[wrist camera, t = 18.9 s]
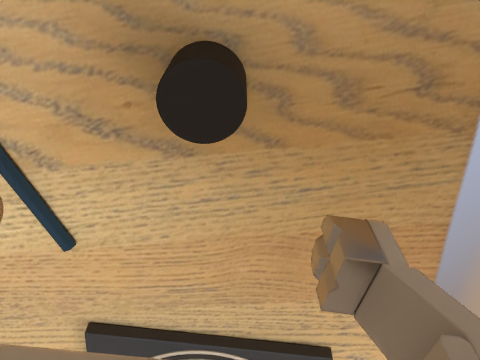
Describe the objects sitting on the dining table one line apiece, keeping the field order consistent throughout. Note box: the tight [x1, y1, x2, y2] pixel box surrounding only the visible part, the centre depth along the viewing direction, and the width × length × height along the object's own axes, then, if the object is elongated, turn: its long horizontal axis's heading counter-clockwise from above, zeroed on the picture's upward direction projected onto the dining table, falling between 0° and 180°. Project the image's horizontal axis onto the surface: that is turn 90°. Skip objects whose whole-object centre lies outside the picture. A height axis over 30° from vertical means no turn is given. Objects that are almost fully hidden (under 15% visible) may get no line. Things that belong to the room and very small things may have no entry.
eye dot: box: [156, 41, 247, 144], centre depth 18 cm, size 4×4×3 cm
